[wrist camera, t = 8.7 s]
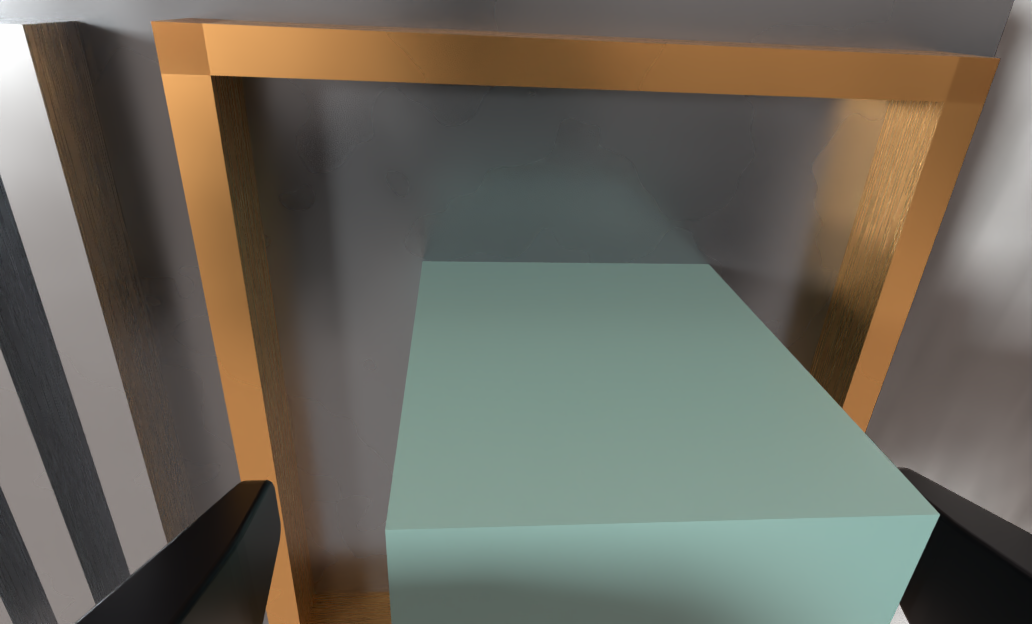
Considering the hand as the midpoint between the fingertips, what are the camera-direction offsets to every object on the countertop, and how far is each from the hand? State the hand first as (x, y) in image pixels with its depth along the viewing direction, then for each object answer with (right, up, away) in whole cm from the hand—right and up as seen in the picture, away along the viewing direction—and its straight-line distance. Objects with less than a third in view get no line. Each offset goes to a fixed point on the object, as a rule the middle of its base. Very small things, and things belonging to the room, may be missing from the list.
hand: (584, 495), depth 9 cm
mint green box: (0, 0, +3) cm, 3 cm away
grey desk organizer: (-3, +3, +6) cm, 7 cm away
